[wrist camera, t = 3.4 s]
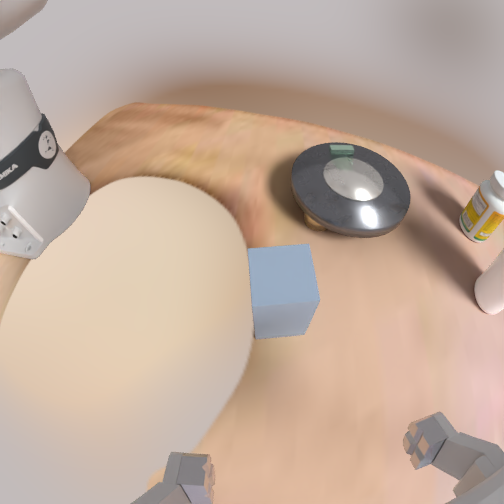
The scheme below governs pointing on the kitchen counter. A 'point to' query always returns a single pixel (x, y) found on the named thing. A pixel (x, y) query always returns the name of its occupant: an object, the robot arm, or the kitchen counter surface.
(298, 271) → the block
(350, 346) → the kitchen counter surface
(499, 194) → the supplement bottle
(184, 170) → the kitchen counter surface
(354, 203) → the stand
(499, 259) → the drinking glass
